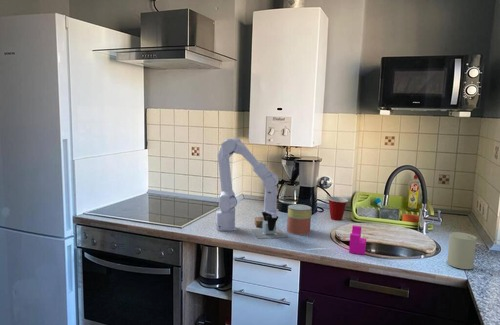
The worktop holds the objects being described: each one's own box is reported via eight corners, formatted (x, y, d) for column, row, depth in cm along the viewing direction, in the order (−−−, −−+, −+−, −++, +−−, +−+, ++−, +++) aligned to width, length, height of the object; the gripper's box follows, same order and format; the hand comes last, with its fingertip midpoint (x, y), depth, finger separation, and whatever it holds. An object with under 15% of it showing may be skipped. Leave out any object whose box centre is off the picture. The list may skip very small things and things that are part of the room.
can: (466, 271, 140) (470, 240, 138) (442, 263, 147) (445, 233, 146) (478, 266, 145) (481, 235, 144) (453, 258, 153) (456, 229, 151)
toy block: (364, 254, 154) (365, 236, 153) (348, 252, 156) (350, 234, 155) (366, 243, 168) (367, 227, 167) (351, 241, 170) (352, 225, 169)
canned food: (314, 231, 183) (315, 207, 182) (303, 236, 174) (304, 211, 173) (294, 226, 190) (295, 203, 189) (282, 231, 181) (283, 207, 180)
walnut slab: (256, 227, 187) (256, 220, 186) (254, 223, 194) (254, 217, 193) (270, 227, 188) (270, 220, 187) (268, 223, 194) (268, 217, 194)
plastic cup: (345, 223, 197) (346, 201, 196) (324, 221, 201) (326, 199, 200) (348, 218, 207) (349, 197, 206) (328, 216, 211) (329, 195, 210)
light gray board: (258, 238, 169) (258, 238, 169) (251, 229, 183) (251, 229, 183) (288, 237, 173) (288, 236, 173) (278, 228, 186) (278, 227, 186)
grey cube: (265, 234, 175) (265, 223, 174) (262, 230, 179) (262, 220, 179) (275, 233, 176) (276, 223, 175) (272, 230, 181) (272, 220, 180)
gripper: (283, 203, 170) (282, 233, 171) (274, 196, 184) (273, 223, 185) (268, 204, 168) (267, 233, 170) (260, 197, 182) (259, 224, 184)
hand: (269, 228), depth 177 cm, fingers closed on grey cube, 5 cm apart
